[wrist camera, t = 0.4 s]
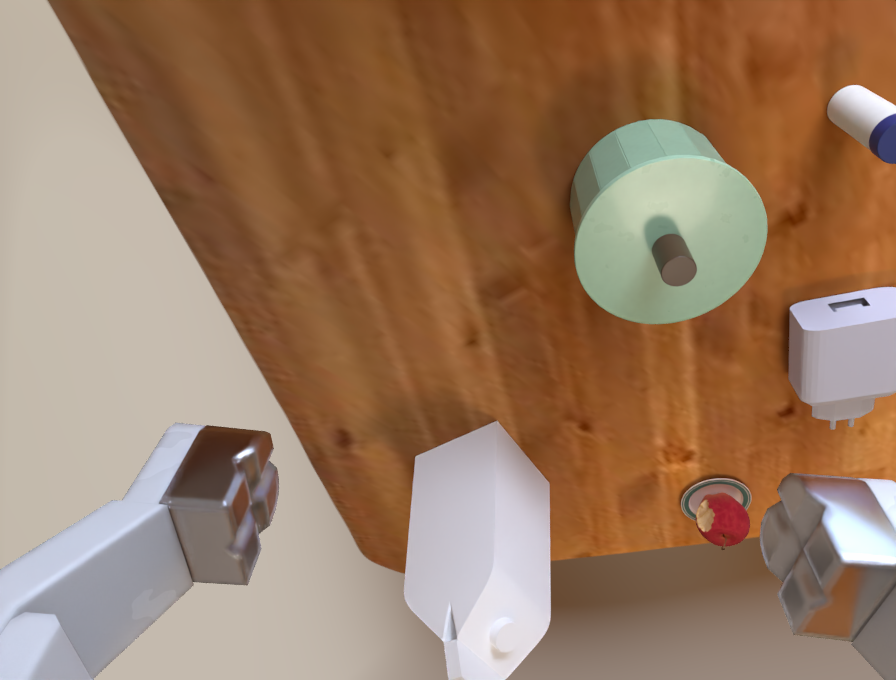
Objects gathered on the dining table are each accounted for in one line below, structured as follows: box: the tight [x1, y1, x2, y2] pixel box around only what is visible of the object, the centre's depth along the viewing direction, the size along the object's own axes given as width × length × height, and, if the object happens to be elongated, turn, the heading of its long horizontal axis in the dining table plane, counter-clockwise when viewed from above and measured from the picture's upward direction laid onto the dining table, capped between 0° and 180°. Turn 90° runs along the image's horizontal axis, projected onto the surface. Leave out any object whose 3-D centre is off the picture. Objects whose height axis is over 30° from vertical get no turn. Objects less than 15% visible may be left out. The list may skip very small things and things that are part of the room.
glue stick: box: [827, 85, 896, 164], centre depth 46 cm, size 3×3×8 cm
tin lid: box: [574, 155, 767, 324], centre depth 46 cm, size 14×14×5 cm
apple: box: [681, 478, 751, 550], centre depth 74 cm, size 8×8×6 cm
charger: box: [789, 287, 896, 430], centre depth 61 cm, size 5×9×15 cm
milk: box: [404, 421, 551, 680], centre depth 66 cm, size 12×12×26 cm
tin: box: [570, 119, 726, 236], centre depth 51 cm, size 13×13×10 cm
